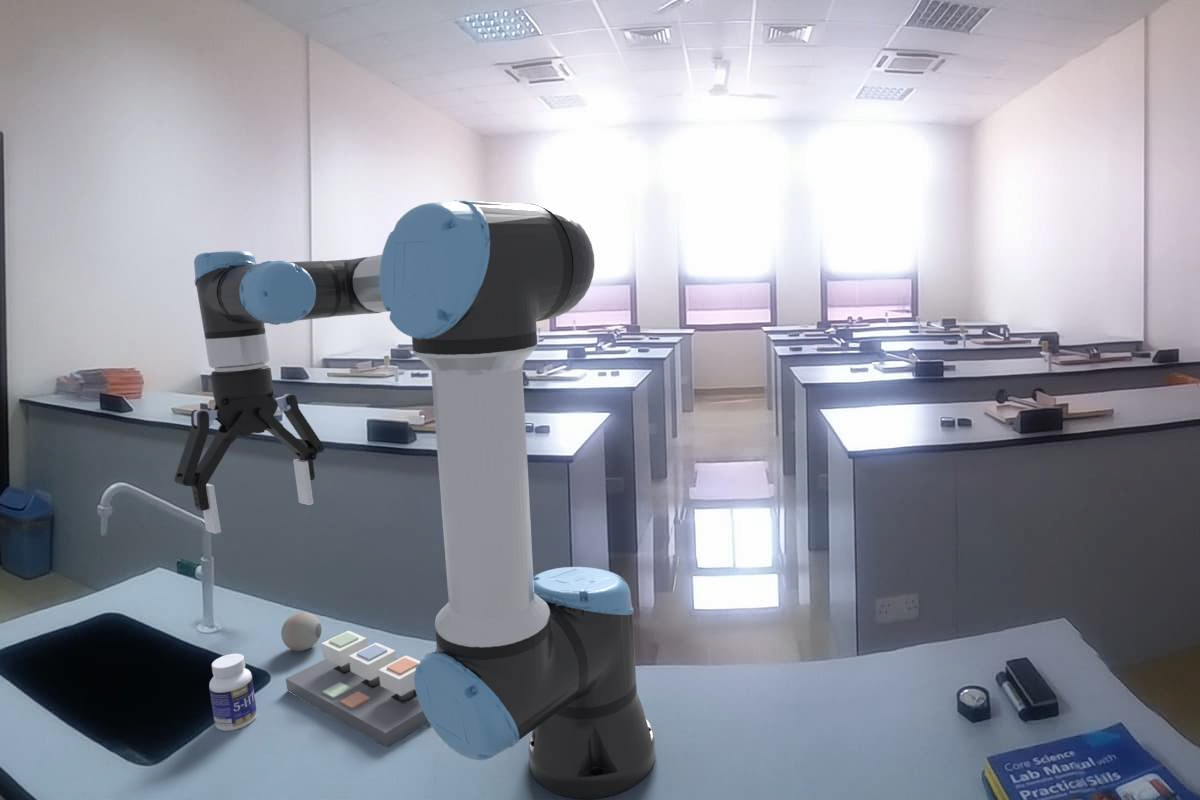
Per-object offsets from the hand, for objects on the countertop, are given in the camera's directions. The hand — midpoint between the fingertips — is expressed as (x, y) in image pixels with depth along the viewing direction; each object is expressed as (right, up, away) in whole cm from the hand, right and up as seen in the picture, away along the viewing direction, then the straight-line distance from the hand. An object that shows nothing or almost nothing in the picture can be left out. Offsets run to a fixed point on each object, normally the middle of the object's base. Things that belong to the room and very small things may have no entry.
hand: (262, 517), depth 108 cm
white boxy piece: (+15, -24, +2) cm, 28 cm away
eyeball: (-1, -24, +17) cm, 30 cm away
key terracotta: (+21, -24, -3) cm, 32 cm away
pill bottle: (-2, -28, -3) cm, 28 cm away
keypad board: (+15, -26, +1) cm, 30 cm away
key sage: (+10, -23, +6) cm, 26 cm away
